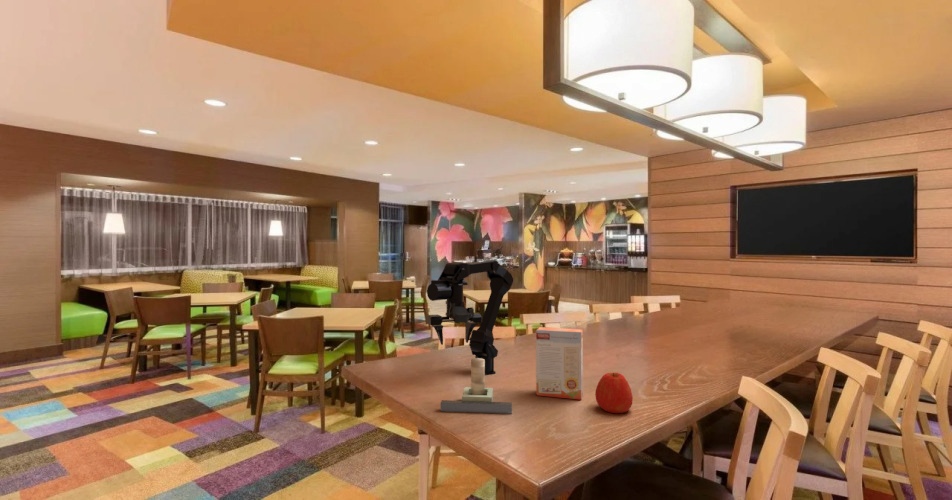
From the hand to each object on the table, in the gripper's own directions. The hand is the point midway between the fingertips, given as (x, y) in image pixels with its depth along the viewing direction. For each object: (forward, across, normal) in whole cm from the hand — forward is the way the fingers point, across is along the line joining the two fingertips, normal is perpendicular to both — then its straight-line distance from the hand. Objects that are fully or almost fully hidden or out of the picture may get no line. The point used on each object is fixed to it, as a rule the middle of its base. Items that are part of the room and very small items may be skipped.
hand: (454, 343), depth 151 cm
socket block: (+14, -1, -24) cm, 27 cm away
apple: (+13, +34, -42) cm, 56 cm away
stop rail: (+13, -4, -29) cm, 32 cm away
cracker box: (+13, +26, -26) cm, 39 cm away
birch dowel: (+12, -1, -24) cm, 27 cm away
